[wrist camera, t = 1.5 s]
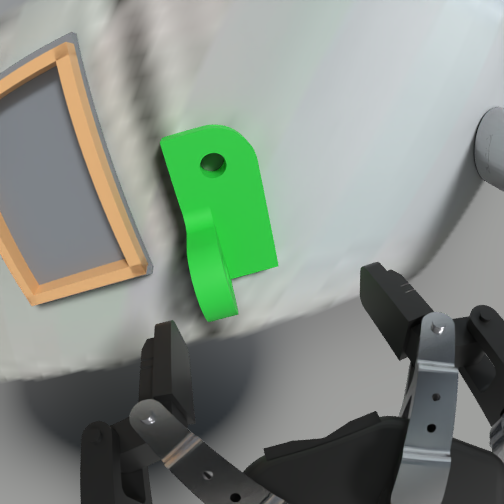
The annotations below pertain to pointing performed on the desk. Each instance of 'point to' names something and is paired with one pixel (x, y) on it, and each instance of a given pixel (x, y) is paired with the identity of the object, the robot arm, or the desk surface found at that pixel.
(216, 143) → the mechanical part
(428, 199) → the desk surface
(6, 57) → the desk surface
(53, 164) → the fitting jig
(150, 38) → the desk surface
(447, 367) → the robot arm
